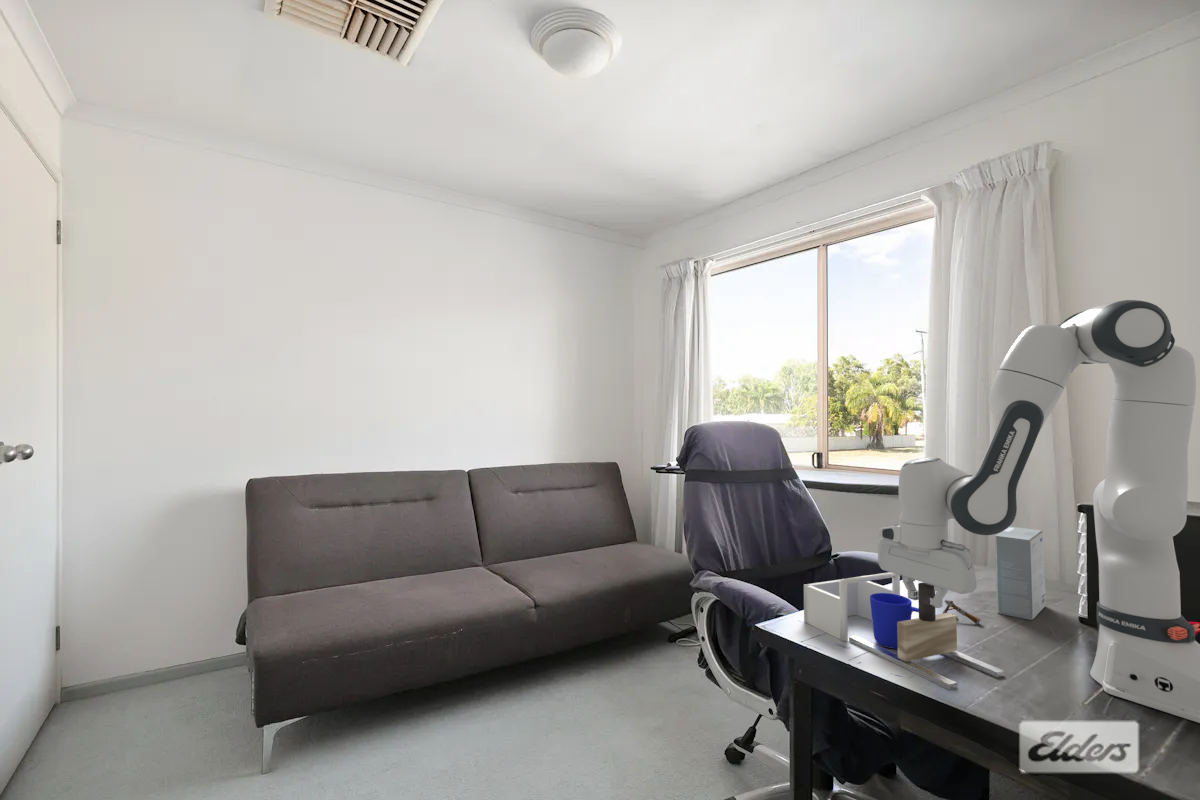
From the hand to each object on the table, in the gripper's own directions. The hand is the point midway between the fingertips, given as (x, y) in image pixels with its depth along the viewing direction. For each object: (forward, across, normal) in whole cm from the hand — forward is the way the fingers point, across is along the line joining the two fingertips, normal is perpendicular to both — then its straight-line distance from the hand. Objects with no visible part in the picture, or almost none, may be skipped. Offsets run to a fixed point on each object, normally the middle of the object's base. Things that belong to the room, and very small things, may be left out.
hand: (924, 602), depth 118 cm
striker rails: (+12, +1, 0) cm, 12 cm away
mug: (+12, +6, 0) cm, 13 cm away
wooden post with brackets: (+12, +12, -27) cm, 32 cm away
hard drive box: (+12, +12, -49) cm, 52 cm away
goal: (+12, +20, 0) cm, 23 cm away
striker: (+10, 0, 0) cm, 10 cm away
